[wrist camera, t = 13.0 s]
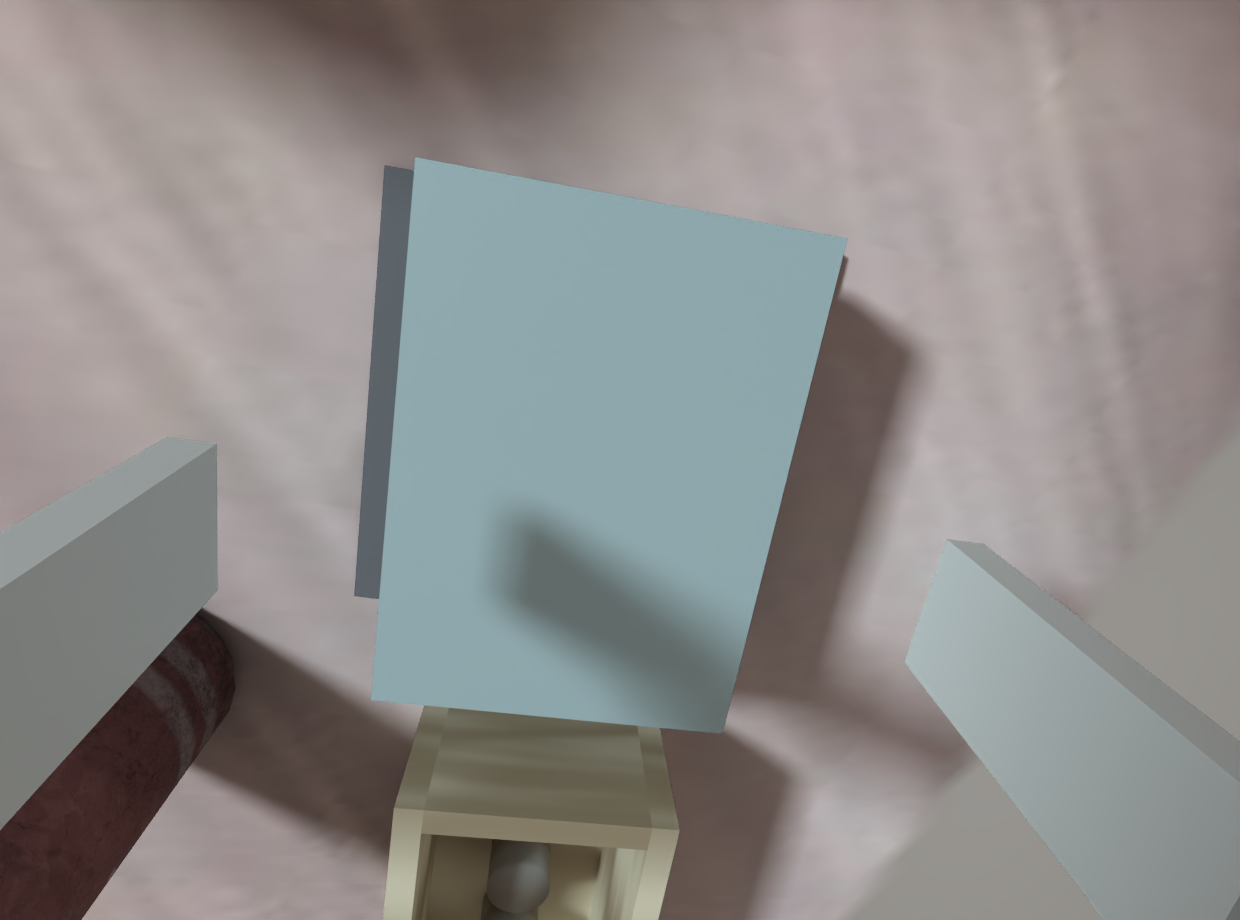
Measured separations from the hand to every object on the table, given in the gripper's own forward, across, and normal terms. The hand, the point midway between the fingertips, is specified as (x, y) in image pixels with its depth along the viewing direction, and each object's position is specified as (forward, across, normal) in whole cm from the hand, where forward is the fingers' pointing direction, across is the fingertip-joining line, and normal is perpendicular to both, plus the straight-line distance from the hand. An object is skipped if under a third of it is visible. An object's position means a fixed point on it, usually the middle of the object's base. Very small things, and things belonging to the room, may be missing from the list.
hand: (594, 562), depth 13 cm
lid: (+8, 0, -1) cm, 8 cm away
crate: (+11, 0, -17) cm, 20 cm away
